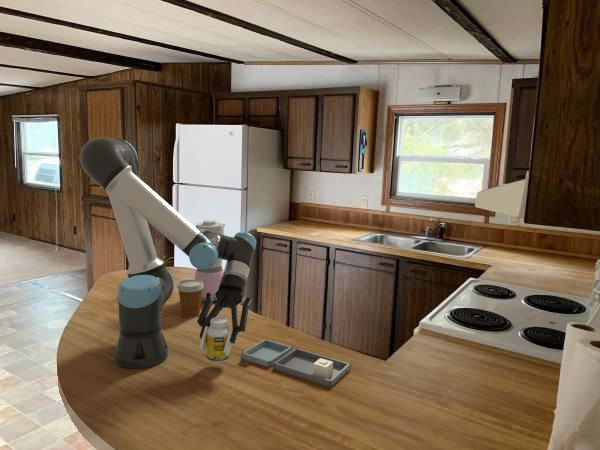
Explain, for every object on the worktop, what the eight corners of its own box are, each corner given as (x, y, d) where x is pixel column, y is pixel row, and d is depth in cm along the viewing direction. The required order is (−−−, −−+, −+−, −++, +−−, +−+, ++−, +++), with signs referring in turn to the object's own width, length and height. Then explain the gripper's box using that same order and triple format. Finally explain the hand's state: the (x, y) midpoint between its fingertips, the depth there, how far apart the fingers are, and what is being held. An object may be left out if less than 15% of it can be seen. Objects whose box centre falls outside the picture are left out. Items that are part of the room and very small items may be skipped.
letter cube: (325, 381, 128) (326, 367, 127) (312, 377, 130) (313, 363, 130) (332, 375, 132) (333, 361, 131) (319, 371, 134) (320, 357, 133)
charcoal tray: (330, 390, 125) (331, 381, 125) (273, 371, 134) (273, 363, 134) (350, 371, 136) (350, 363, 135) (296, 355, 145) (296, 347, 144)
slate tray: (269, 370, 135) (269, 361, 135) (241, 360, 140) (241, 352, 140) (292, 354, 145) (292, 346, 145) (265, 346, 151) (265, 338, 150)
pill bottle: (207, 364, 132) (207, 325, 130) (205, 354, 138) (206, 316, 136) (230, 362, 134) (231, 323, 132) (228, 352, 140) (228, 315, 138)
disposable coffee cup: (200, 319, 171) (200, 287, 169) (174, 318, 171) (173, 286, 169) (206, 310, 180) (206, 279, 178) (181, 309, 181) (181, 278, 178)
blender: (220, 292, 202) (220, 218, 196) (229, 301, 191) (230, 222, 186) (182, 296, 195) (182, 219, 189) (190, 306, 184) (190, 224, 178)
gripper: (267, 288, 146) (249, 361, 133) (207, 281, 149) (184, 352, 136) (263, 276, 140) (244, 351, 127) (200, 269, 143) (176, 342, 130)
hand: (213, 351), depth 132 cm, fingers closed on pill bottle, 6 cm apart
